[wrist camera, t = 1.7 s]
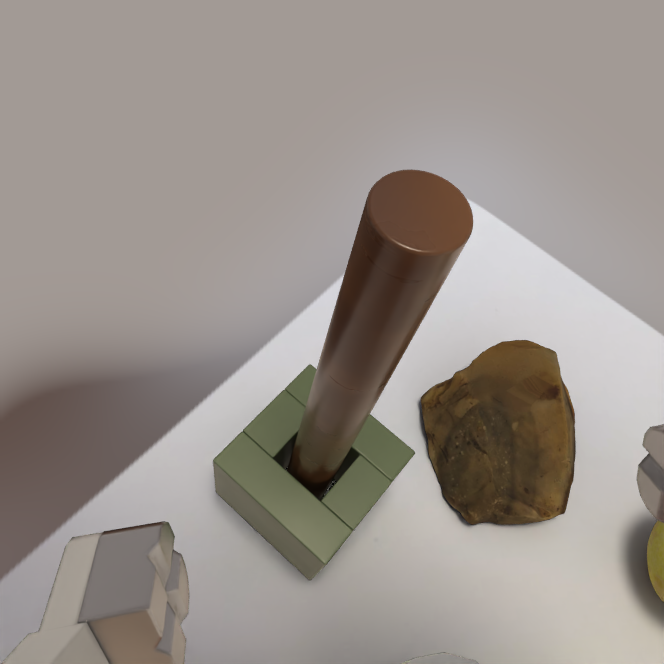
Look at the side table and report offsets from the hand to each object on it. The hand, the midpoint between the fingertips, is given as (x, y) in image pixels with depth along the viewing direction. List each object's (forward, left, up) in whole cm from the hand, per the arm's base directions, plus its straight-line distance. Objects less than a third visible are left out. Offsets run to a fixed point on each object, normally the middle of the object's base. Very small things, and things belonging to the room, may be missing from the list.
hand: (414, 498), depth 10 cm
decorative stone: (+10, +12, -24) cm, 29 cm away
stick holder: (-1, +6, -24) cm, 25 cm away
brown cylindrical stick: (-1, +6, -24) cm, 25 cm away
